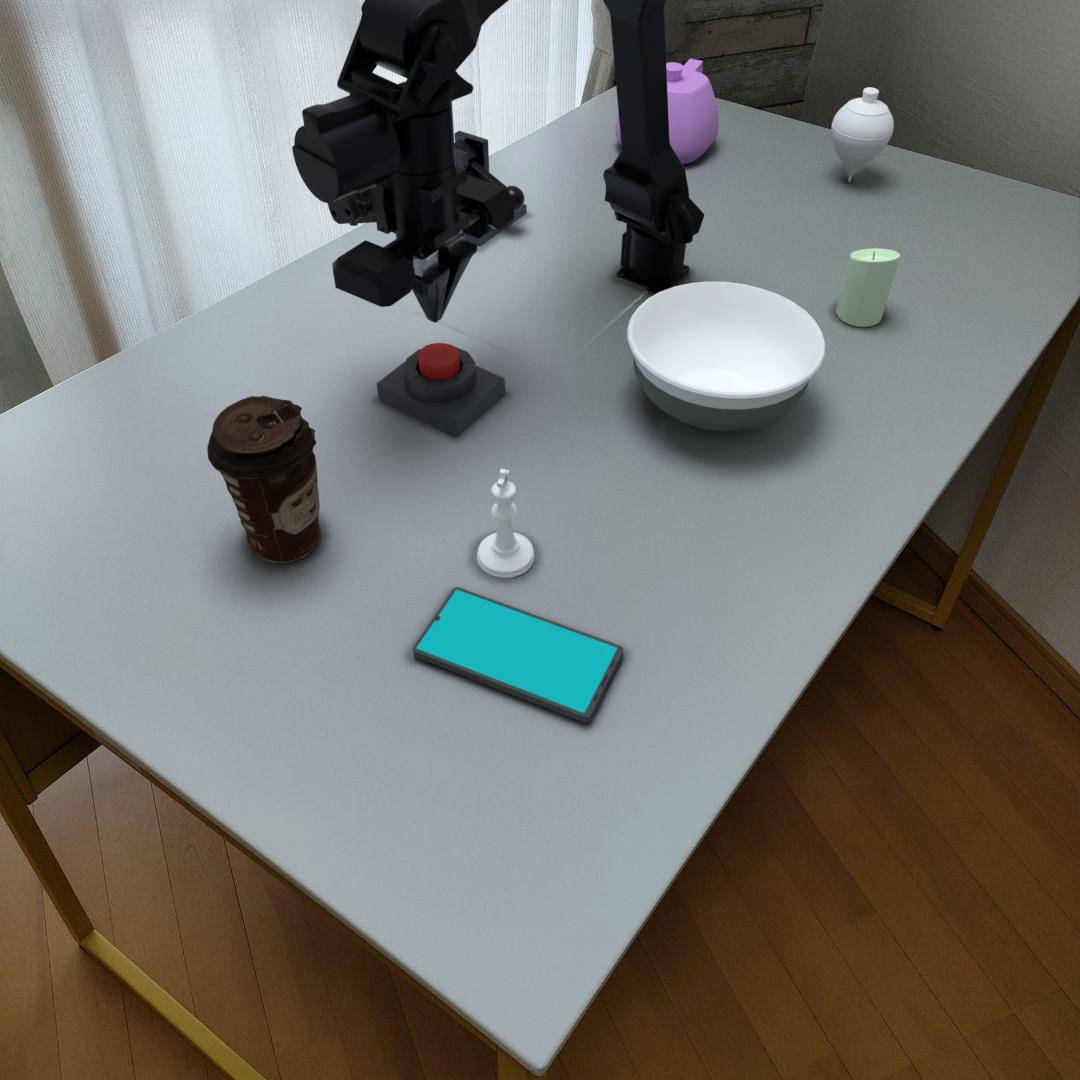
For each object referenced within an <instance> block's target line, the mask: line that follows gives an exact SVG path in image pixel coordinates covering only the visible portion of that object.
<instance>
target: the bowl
mask: <svg viewBox="0 0 1080 1080" xmlns="http://www.w3.org/2000/svg"><path fill="white" fill-rule="evenodd" d="M626 329H627V330H626V335H627V342H628V345H629V348H630V350H631V353H632V357H633V358H632V359H633V360H632V361H633V371H634V374H635V376H636V379H637V382H638V383H639V385H640V386H641V388H642V390H643V392H644V394H645V395H646V396H647V397H648V398H649V400H650V401H651V402H652V403H653V405H655V406H656V407H657V408H659V409H660V410H661V411H662V412H664V413H665V414H668V415H669V416H670V417H672V418H674V419H675V420H677V421H679V422H682V423H684V424H686V425H689V426H692V427H695V428H700V429H702V430H710V431H716V432H717V431H718V432H723V431H724V432H732V431H742V430H748V429H752V428H755V427H759V426H765V425H766V424H768V423H770V422H773V421H775V420H777V419H779V418H780V417H782V416H783V415H784V414H786V413H787V412H788V411H789V410H791V408H793V407H794V406H795V405H797V403H798V402H799V401H800V399H801V398H802V397H803V396H804V395H805V393H806V391H807V389H808V386H809V384H810V380H811V379H812V377H814V375H815V373H817V371H818V370H819V369H820V368H821V367H822V364H823V362H824V359H825V357H826V342H825V337H824V334H823V332H822V329H821V328H820V327H819V325H818V323H817V321H816V319H814V318H813V317H812V316H811V315H810V314H809V313H808V312H807V311H806V310H805V309H804V308H803V307H801V306H799V305H798V304H796V303H795V302H794V301H793V300H790V299H788V298H786V297H784V296H782V295H780V294H778V293H775V292H773V291H770V290H767V289H765V288H762V287H758V286H753V285H750V284H745V283H739V282H738V283H737V282H730V281H699V282H690V283H685V284H680V285H674V286H673V287H671V288H669V289H667V290H664V291H661V292H659V293H655V294H654V295H652V296H649V297H648V298H647V299H646V300H644V301H643V303H641V304H640V305H639V306H638V307H637V308H636V310H635V311H634V312H633V314H632V315H631V317H630V319H629V321H628V325H627V328H626Z"/></svg>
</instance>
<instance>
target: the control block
mask: <svg viewBox="0 0 1080 1080" xmlns="http://www.w3.org/2000/svg"><path fill="white" fill-rule="evenodd" d="M427 345H428V344H425V345H424V346H423V347H425V346H427ZM453 346H454V345H453ZM454 347H455V348H456V349H457V350H458V352H459V359H460V371H459V373H458V374H457V375H456V376H455V377H453V378H449V379H446V380H429V379H427V378H424V377H423V376H422V375H421V374H420V371H419V362H418V353H419V351H420V350H421V349H422V348H419V349H417V350H416V351H414V352H413V353H412V354H410V355H409V356H408V357H406V359H405V361H403V363H401V364H400V365H398V366H397V367H396V368H395V369H393V370H392V371H391V372H390V373H388V374H387V375H386V376H384V377H383V378H382V379H380V380H379V381H378V382H376V390H377V397H378V402H381V403H383V404H385V405H386V406H390V407H391V408H393V409H395V410H397V411H400V412H402V413H404V414H407V415H408V416H410V417H412V418H415V419H417V420H419V421H421V422H423V423H425V424H427V425H430V426H432V427H434V428H436V429H439V430H441V431H443V432H445V433H447V434H449V435H451V436H453V437H456V438H458V437H459V436H461V435H462V434H463V433H465V431H466V430H468V428H470V427H471V426H472V425H474V423H475V422H476V421H478V420H479V419H480V418H481V417H482V416H483V415H484V414H486V413H487V412H488V411H489V410H491V408H492V407H494V406H495V405H496V404H497V403H499V401H501V400H502V399H503V398H504V397H505V396H506V378H505V377H503V376H501V375H499V374H496V373H494V372H492V371H489V370H487V369H484V368H483V367H480V366H478V365H476V361H475V360H474V358H473V357H472V355H471V354H470V353H469V352H468V351H467V350H464V349H462V348H459V347H457V346H454Z"/></svg>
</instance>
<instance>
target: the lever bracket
mask: <svg viewBox="0 0 1080 1080" xmlns="http://www.w3.org/2000/svg"><path fill="white" fill-rule="evenodd" d="M460 139H462V140H463V141H464V142H466V143H467V144H468V145H469V146H470V147H472V148H473V149H474V150H475V151H476V152H478V156H477V159H476V162H478V163H479V164H480V165H481V166H482V167H484V168H485V169H486V170H487V171H488V172H490V153H489V152H490V151H489V150H490V149H489V139H487V138H484V137H481V136H477V135H474V134H472V133H469V132H465V131H462V130H457V131H456V132H454V143H455V142H457V141H459V140H460ZM455 160H456V166H458V167H461V168H464V169H467V175H468V176H471V177H474V178H477V177H476V176H474V175H473V174H472V173H471V172H470V171H469V166H468V152H465V151H462V150H459V149H456V148H455ZM477 179H478V178H477ZM527 207H528V205H527V204H525V203H524V204H523V206H522V208H521V209H520V210H518V211H516V212H514V219H513V220H512V221H510V222H509V223H507V224H506V225H504V226H503V227H502V228H500V229H499V230H496V229H493V228H492V227H490V226H489V225H488V224H487V214H484V213H480V214H479V219H478V220H477V221H475V222H474V223H472V224H471V225H469V226H468V227H467V228H465V229H464V230H462V231H463V233H462V234H465V241H468V242H471V243H473V244H476V245H477V247H479V248H480V247H482V246H483V245H484V244H486V243H487V242H489V241H490V240H491V239H493V238H494V237H495V236H497V235H498V234H500V233H501V232H502V231H503V230H505V229H506V228H508V227H509V226H510V225H512V224H513V223H514V222H516V221H517V220H519V219H520V218H521V217H523V216H525V215H526V214H527V212H528V209H527Z"/></svg>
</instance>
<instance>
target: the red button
mask: <svg viewBox="0 0 1080 1080" xmlns="http://www.w3.org/2000/svg"><path fill="white" fill-rule="evenodd" d="M426 345H427V346H426ZM426 345H424V346H425V347H424V346H423V347H422V348H420V349H421V350H420V351H419V353H418V362H419V371H420V374H421V375H422V376H423V377H424V378H427V379H429V380H446V379H449V378H453V377H455V376H456V375H457V374H458V373H459V371H460V359H459V352H458V350H457V349H456V348H455V347H456V346H455V347H454V345H452V344H450V343H445V342H434V343H429V344H426Z"/></svg>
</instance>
